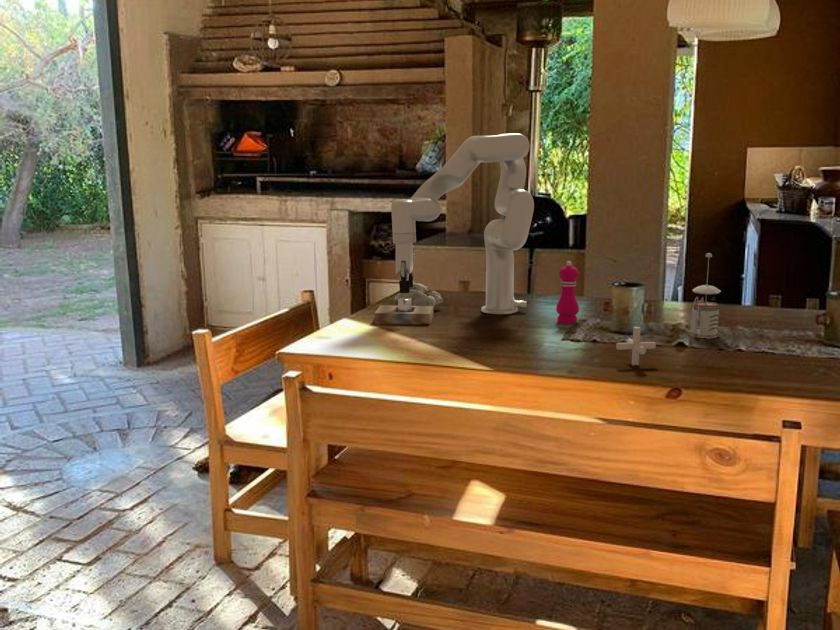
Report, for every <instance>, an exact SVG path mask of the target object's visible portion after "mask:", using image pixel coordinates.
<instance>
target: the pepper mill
mask: <svg viewBox="0 0 840 630" xmlns="http://www.w3.org/2000/svg"><path fill="white" fill-rule="evenodd" d="M558 276H559V278H560V279H561V280H560V286H561V295H560V297H559V300H558V302H557V304H556V308H555V309H556V310H555V311H556V313H558V316H557V318H556V319H557V323H558V324H561V325H574V324H573V323H575V324H577V323H578V317H577V316H576V315H578V313H579V312H580V307H579V302H578V300H577V297H576V294H575V288H576V286H577V281H576V280H577V279H578V277H579V271H578V268H577V267H575V266H573V263H572V261H570V260H567V262H566V263H565V265H564V266H562V267H561V268H560V270H559V273H558ZM576 322H577V323H576Z"/></svg>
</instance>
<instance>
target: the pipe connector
mask: <svg viewBox="0 0 840 630" xmlns="http://www.w3.org/2000/svg"><path fill="white" fill-rule="evenodd" d="M632 329H633V330H632V338H627V339H626V342H616V344H615V345H616V348H615V349H616V350H620V351H621V350H631V366H635V365H637V366H639V364H640V355H645V354H646V353H647V350H651V349H653V350H654V349H656V346H657V345H656V344H657V343H656V342H655V341H641V329H642V328H641V327H640V326H633V328H632Z"/></svg>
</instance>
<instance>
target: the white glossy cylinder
mask: <svg viewBox="0 0 840 630" xmlns="http://www.w3.org/2000/svg"><path fill="white" fill-rule="evenodd" d="M411 306H412V304H411V298H399V299H398V312H411Z"/></svg>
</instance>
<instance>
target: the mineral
mask: <svg viewBox="0 0 840 630" xmlns="http://www.w3.org/2000/svg"><path fill="white" fill-rule="evenodd" d="M429 288H430V287H429V285H428V286H427V285H424V284H422V283H416V282H413V287H410V292H409V293H400V292H399V293H398V294H396V295H395V296H394V298H393V301H392V302H393V304H394V306H398V299H399V298H411V306H434V307H435V306H436V305H437V304H441V303H443V302H444V301H443V298H442V294H440V293H439V292H437V291H436V290H430V292H429Z"/></svg>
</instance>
